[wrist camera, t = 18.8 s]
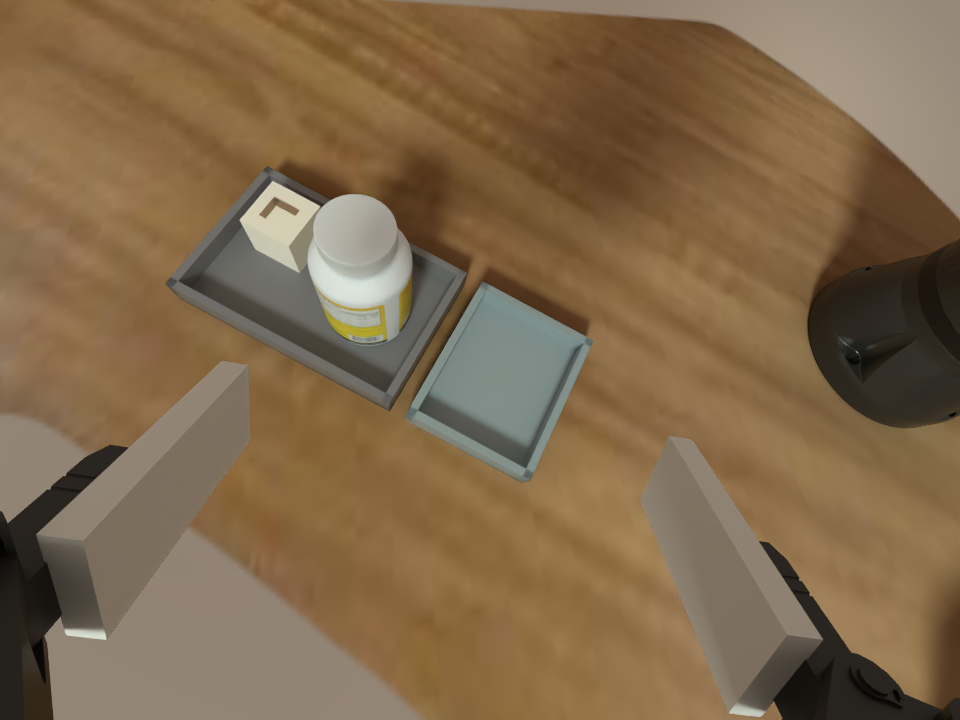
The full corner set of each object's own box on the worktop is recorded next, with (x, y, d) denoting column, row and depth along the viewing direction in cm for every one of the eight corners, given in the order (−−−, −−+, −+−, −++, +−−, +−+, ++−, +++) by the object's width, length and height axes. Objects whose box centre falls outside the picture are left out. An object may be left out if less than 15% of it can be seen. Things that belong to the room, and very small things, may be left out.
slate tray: (477, 294, 41) (482, 281, 38) (582, 350, 41) (593, 340, 38) (405, 420, 37) (406, 413, 34) (521, 482, 37) (530, 480, 34)
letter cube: (284, 212, 40) (272, 180, 36) (327, 235, 40) (319, 205, 36) (255, 249, 38) (239, 219, 34) (299, 273, 38) (288, 245, 34)
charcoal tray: (274, 186, 41) (267, 166, 39) (463, 287, 41) (467, 272, 38) (180, 298, 37) (165, 283, 35) (389, 411, 37) (388, 404, 34)
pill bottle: (397, 265, 40) (396, 170, 29) (420, 336, 38) (429, 264, 27) (316, 284, 38) (283, 191, 27) (338, 359, 36) (311, 292, 26)
